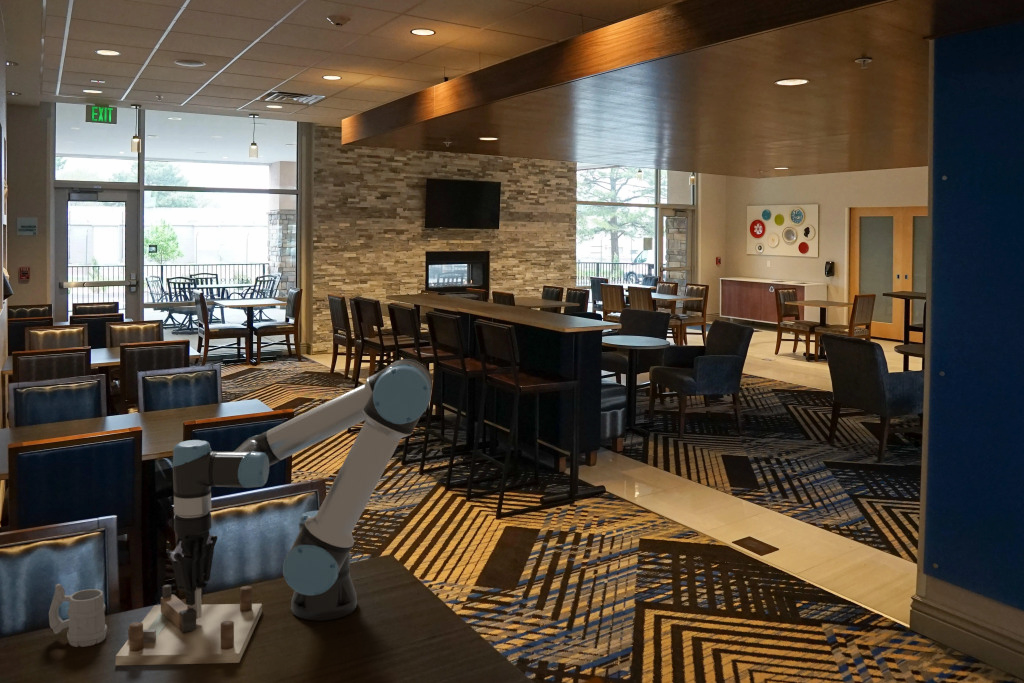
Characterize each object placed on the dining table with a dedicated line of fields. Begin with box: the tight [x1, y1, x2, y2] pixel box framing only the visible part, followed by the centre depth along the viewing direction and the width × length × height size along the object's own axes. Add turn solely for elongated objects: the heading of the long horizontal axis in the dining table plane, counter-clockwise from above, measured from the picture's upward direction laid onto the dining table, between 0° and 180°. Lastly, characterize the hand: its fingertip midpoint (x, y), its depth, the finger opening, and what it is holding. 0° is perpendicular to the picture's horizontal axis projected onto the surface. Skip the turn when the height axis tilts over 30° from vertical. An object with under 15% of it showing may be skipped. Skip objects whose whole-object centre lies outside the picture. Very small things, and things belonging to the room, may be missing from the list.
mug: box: [48, 583, 108, 648], centre depth 174 cm, size 8×12×12 cm, turn 91°
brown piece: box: [160, 584, 196, 633], centre depth 179 cm, size 14×3×6 cm, turn 43°
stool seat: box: [115, 585, 263, 666], centre depth 177 cm, size 24×24×7 cm
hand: (194, 616), depth 179 cm, fingers closed
